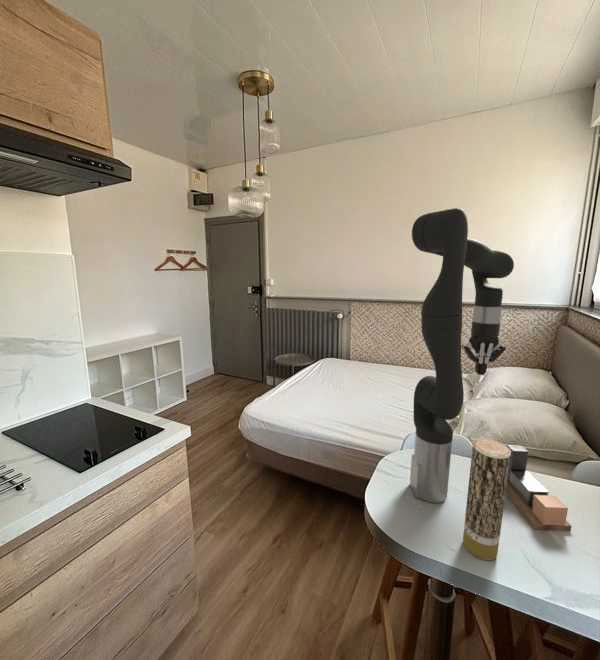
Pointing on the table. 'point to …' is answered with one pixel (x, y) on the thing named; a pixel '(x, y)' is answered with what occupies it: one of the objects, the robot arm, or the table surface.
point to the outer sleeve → (525, 485)
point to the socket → (549, 510)
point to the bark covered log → (486, 497)
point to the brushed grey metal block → (519, 463)
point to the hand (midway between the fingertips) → (480, 374)
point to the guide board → (529, 515)
